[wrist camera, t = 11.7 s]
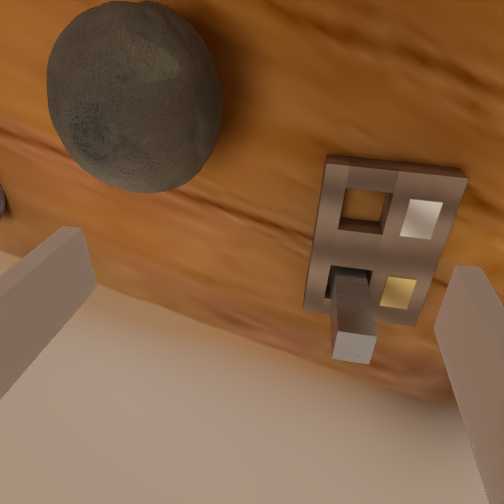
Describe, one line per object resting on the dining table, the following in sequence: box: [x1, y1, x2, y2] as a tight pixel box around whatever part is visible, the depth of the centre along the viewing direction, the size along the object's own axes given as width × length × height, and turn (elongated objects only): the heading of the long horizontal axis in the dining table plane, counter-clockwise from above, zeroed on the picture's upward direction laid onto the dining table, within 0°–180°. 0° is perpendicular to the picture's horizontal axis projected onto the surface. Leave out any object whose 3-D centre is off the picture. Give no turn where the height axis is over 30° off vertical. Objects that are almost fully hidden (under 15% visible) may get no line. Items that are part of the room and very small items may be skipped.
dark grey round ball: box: [47, 0, 223, 193], centre depth 32 cm, size 14×14×15 cm
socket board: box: [303, 155, 469, 327], centre depth 42 cm, size 18×13×3 cm
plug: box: [330, 265, 377, 364], centre depth 40 cm, size 3×3×13 cm
